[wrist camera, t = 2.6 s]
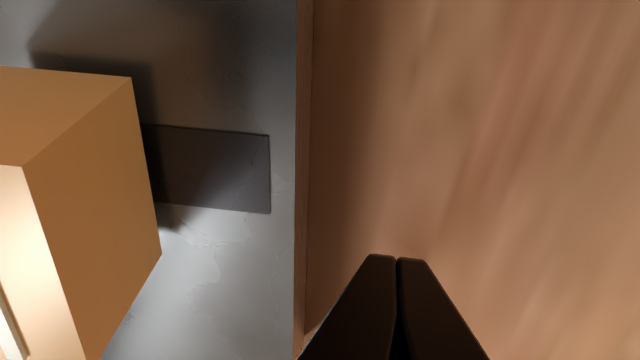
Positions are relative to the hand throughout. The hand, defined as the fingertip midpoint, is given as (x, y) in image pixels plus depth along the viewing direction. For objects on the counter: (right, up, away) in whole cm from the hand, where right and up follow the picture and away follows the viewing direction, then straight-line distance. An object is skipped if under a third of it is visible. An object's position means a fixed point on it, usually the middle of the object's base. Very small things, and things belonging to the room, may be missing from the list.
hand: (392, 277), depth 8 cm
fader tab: (-6, +2, +2) cm, 6 cm away
